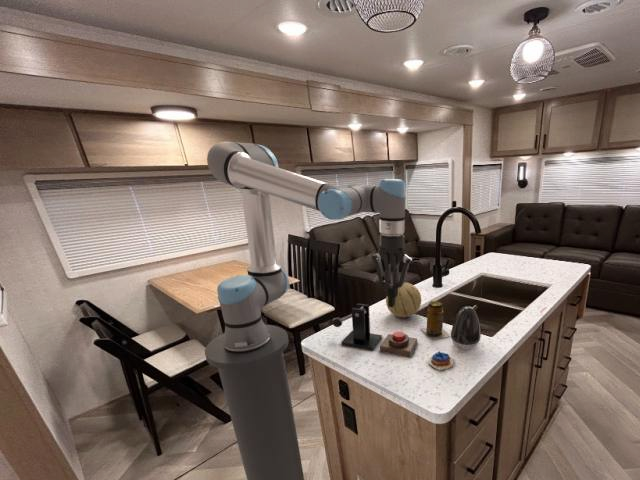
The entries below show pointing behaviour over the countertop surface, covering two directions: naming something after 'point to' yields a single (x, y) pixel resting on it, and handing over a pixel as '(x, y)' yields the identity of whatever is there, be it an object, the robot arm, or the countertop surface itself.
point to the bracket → (361, 330)
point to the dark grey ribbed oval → (466, 329)
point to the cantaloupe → (406, 301)
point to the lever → (343, 319)
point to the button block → (398, 345)
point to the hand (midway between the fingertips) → (391, 305)
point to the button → (398, 336)
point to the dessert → (441, 361)
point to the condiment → (435, 321)
